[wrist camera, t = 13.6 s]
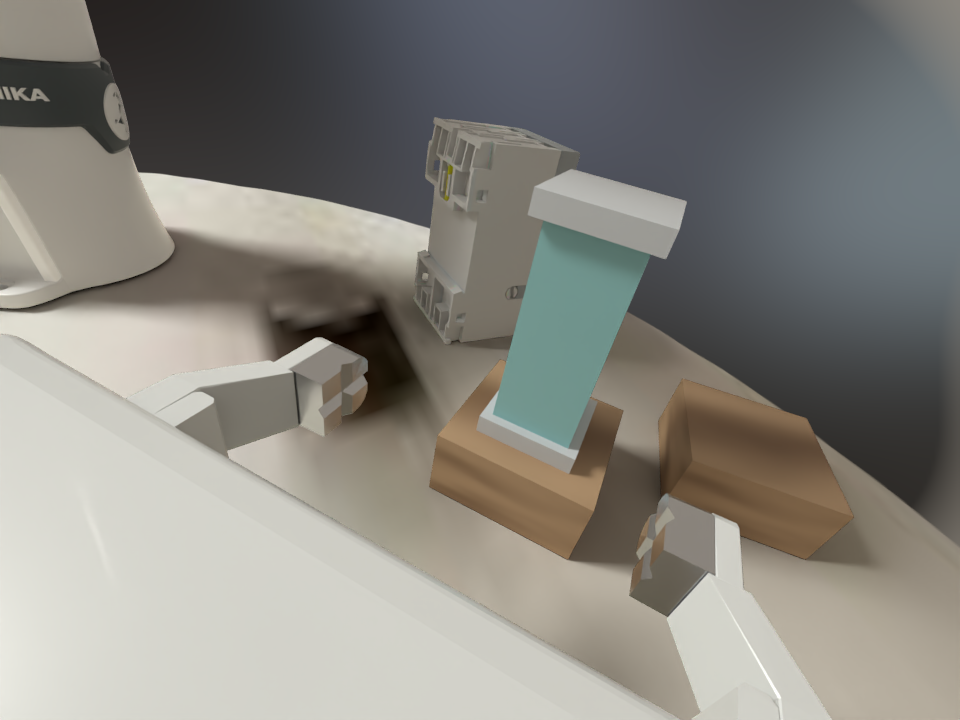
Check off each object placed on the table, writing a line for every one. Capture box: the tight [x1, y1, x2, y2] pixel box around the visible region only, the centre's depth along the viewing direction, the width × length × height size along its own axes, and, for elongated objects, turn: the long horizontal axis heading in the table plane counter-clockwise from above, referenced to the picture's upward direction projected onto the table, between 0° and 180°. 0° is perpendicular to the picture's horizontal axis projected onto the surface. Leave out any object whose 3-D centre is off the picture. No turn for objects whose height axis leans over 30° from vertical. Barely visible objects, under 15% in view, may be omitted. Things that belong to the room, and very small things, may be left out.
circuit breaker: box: [414, 118, 580, 345], centre depth 36 cm, size 8×14×15 cm, turn 118°
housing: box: [476, 169, 687, 474], centre depth 20 cm, size 5×5×12 cm
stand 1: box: [429, 359, 623, 559], centre depth 24 cm, size 8×8×4 cm
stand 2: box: [658, 379, 854, 560], centre depth 27 cm, size 8×8×4 cm
